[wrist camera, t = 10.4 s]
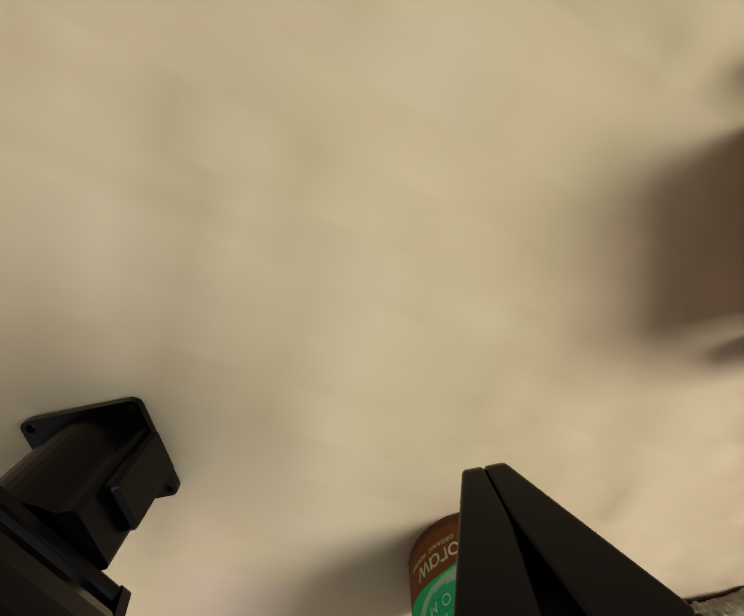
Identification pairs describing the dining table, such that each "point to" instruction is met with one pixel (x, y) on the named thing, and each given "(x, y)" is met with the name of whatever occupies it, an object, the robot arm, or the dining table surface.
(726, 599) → the elongated rock
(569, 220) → the dining table surface
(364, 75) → the dining table surface
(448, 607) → the food container
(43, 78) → the dining table surface
